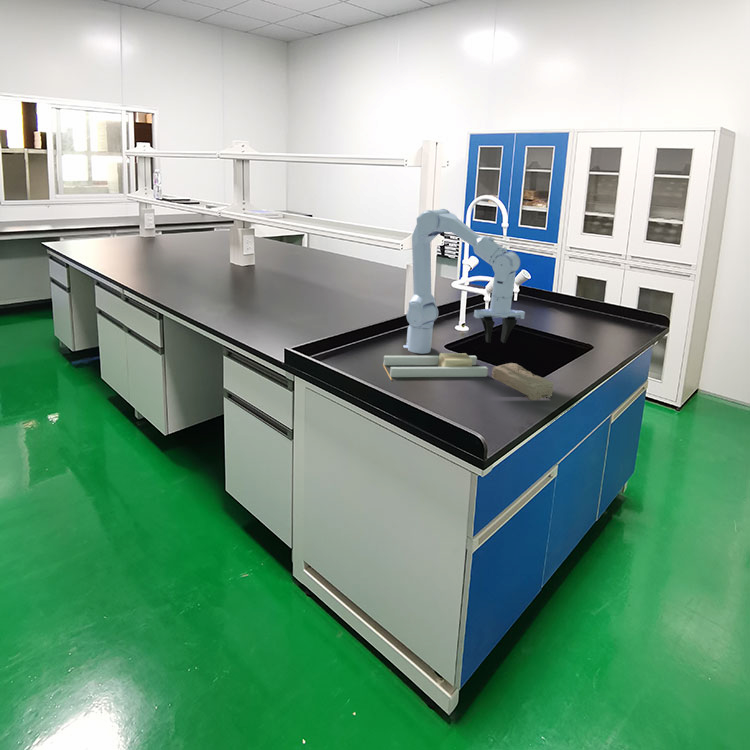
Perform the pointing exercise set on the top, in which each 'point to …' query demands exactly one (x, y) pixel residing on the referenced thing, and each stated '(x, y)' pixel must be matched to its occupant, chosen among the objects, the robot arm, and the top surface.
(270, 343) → the top surface
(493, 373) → the brick
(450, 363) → the block
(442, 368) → the chute
